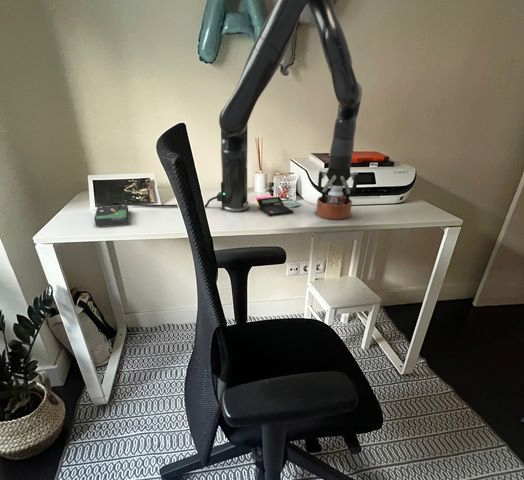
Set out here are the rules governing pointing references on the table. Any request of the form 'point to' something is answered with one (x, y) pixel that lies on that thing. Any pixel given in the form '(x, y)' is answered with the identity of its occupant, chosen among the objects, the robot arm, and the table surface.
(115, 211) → the disk drive
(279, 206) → the calculator
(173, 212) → the table surface
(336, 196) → the pill bottle
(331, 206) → the dish
